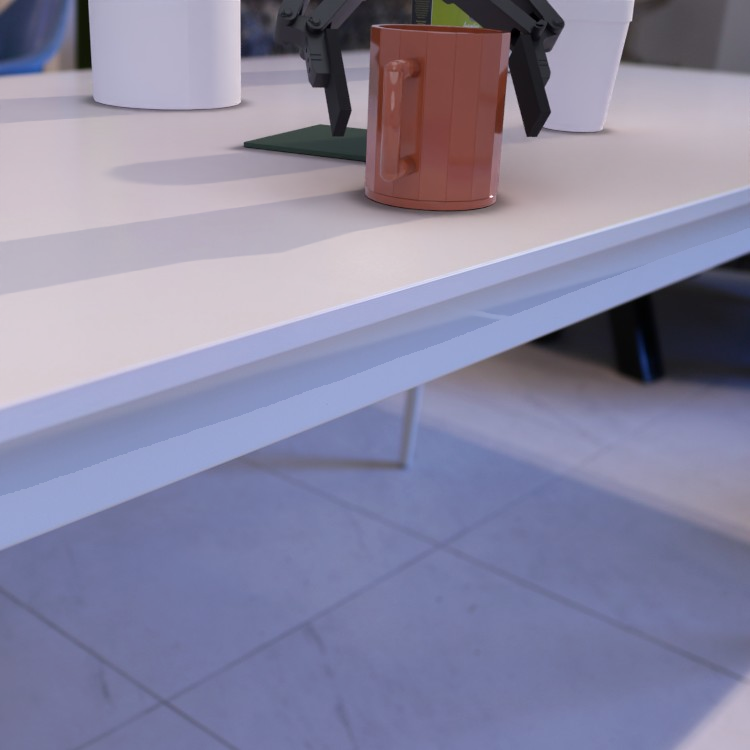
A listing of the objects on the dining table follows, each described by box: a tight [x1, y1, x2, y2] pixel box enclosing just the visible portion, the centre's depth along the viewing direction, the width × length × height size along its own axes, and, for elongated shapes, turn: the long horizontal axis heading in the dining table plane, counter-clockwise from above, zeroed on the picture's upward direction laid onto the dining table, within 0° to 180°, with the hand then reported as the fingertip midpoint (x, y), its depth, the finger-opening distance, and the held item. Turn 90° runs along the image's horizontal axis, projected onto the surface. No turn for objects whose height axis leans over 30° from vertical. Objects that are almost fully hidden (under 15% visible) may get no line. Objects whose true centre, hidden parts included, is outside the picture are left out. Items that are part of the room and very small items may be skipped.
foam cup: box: [542, 0, 636, 133], centre depth 106 cm, size 10×9×13 cm
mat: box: [243, 123, 367, 162], centre depth 92 cm, size 14×14×1 cm
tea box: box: [410, 0, 512, 72], centre depth 167 cm, size 15×10×15 cm, turn 46°
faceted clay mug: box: [364, 23, 511, 212], centre depth 69 cm, size 12×9×11 cm
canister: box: [87, 0, 242, 111], centre depth 113 cm, size 16×16×20 cm
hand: (443, 125), depth 69 cm, fingers open, 13 cm apart
